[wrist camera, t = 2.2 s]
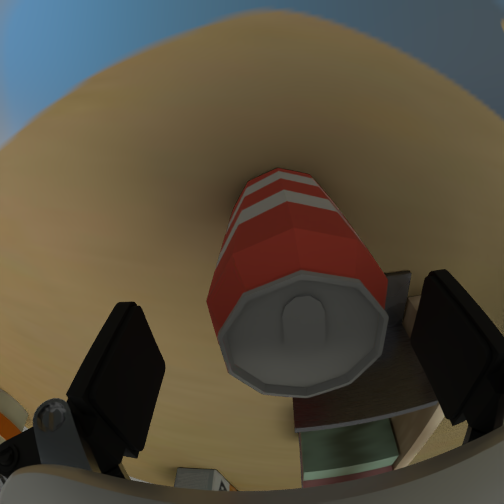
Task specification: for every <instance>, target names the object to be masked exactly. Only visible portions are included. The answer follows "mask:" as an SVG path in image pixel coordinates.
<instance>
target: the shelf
mask: <svg viewBox="0 0 504 504" xmlns="http://www.w3.org/2000/svg"><path fill="white" fill-rule="evenodd" d="M420 298H421V295H419V296H413V297H408V299H407V304H406V308H405V313H404V318H403V322H402V325H403V326H404V328H405V330H406V332H407V334H408V336H409V338H410V337H411V333H412V329H413V326H414V322H415V318H416V314H417V310H418V306H419V302H420ZM443 418H444V413H443V411H442V409H441V406H440V404H439V402H438V403H437V404H436V405H434V406H431V407H427V408H424V409H421V410H417V411H414V412H410V413H406V414H402V415H399V416H394V417H390V418H386V419H382V420H377V421H372V422H367V423H362V424H357V425H351V426H345V427H339V428H332V429H325V430H317V431H308V432H299V446H300V462H301V480H302V488H308V487H316V486H323V485H329V484H335V483H341V482H347V481H352V480H357V479H361V478H366V477H370V476H374V475H378V474H382V473H386V472H389V471H393V470H396V469H400V468H403V467H406V466H407V465H408V464H409V463H410V462H411V461H412V459H413V458H414V457H415V456H416V454H417V453H418V452H419V451H420V449H421V448H422V447H423V446H424V444H425V443H426V442H427V440H428V439H429V438H430V436H431V435H432V434H433V432H434V431H435V429H436V428H437V427H438V425H439V424H440V422H441V421H442V419H443Z"/></svg>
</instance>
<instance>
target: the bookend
mask: <svg viewBox="0 0 504 504" xmlns="http://www.w3.org/2000/svg"><path fill="white" fill-rule="evenodd" d="M384 275H385V276H386V278H387V279H388V286H387V294H386V302H385V309H384V310H385V311H386V312H387V314H388V316H389V319H388V324H387V330H386V336H385V341H384V346H383V351H382V355H381V356H380V357H379V358H378V359H377V360H376V361H375V362H374V363H373V364H372V365H371V366H370V367H369V368H367V369H366V370H365V371H364V372H363V373H362V374H361V375H360V376H359V377H358V378H357V379H356V380H355V381H353V382H352V383H351V384H349V385H346V386H344V387H341V388H338V389H335V390H332V391H329V392H326V393H323V394H319V395H316V396H313V397H310V398H297V397H293V410H294V425H295V433H297V432H308V431H317V430H325V429H332V428H339V427H345V426H351V425H357V424H362V423H367V422H372V421H377V420H382V419H386V418H390V417H394V416H399V415H402V414H406V413H410V412H414V411H417V410H421V409H424V408H427V407H431V406H434V405H436V404H437V403H438V400H437V398H436V395H435V393H434V391H433V389H432V387H431V385H430V382H429V380H428V378H427V376H426V374H425V372H424V370H423V368H422V366H421V364H420V362H419V360H418V358H417V356H416V354H415V352H414V350H413V348H412V346H411V342H410V338H409V336H408V334H407V332H406V330H405V328H404V326H403V325H402V319H403V315H404V310H405V305H406V300H407V295H408V290H409V285H410V279H411V272H410V271H404V272H396V273H388V274H384Z"/></svg>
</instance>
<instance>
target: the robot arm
mask: <svg viewBox="0 0 504 504" xmlns="http://www.w3.org/2000/svg"><path fill="white" fill-rule="evenodd" d="M410 342H411V346H412V348H413V350H414V352H415V354H416V356H417V358H418V360H419V362H420V364H421V366H422V368H423V370H424V372H425V374H426V376H427V378H428V380H429V382H430V385H431V387H432V389H433V391H434V393H435V395H436V398H437V400H438V402H439V404H440V406H441V409H442V411H443V413H444V416H445V417H446V418H447V419H450V421H451V424H452V426H454V425H456V424H459V423H461V422H463V421H465V420H467V422H468V428H467V432H466V435H465V438H464V441H463V444H462V446H460V447H457V448H455V449H453V450H450V451H448V452H445V453H443V454H440V455H438V456H435V457H433V458H430V459H427V460H424V461H421V462H419V463H416V464H413V465H410V466H406V467H403V468H400V469H396V470H393V471H389V472H386V473H382V474H378V475H374V476H370V477H366V478H361V479H357V480H352V481H347V482H341V483H335V484H329V485H323V486H316V487H308V488H298V489H287V490H272V491H213V490H198V489H187V488H178V487H170V486H163V485H156V484H150V483H144V482H138V481H133V480H131V479H130V477H129V476H128V474H127V472H126V470H125V468H124V466H123V464H122V463H121V462H122V458H123V456H126V457H132V458H138V454H139V451H142V450H143V449H144V446H145V442H146V438H147V434H148V430H149V427H150V423H151V419H152V415H153V412H154V408H155V405H156V401H157V397H158V394H159V390H160V387H161V383H162V380H163V376H164V373H165V362H164V359H163V357H162V355H161V353H160V351H159V348H158V346H157V344H156V342H155V339H154V337H153V335H152V332H151V330H150V327H149V325H148V323H147V320H146V318H145V315H144V313H143V310H142V308H141V307H140V306H137V304H136V303H135V302H119V303H117V304H116V305H115V307H114V309H113V310H112V312H111V314H110V315H109V317H108V319H107V320H106V322H105V324H104V325H103V327H102V329H101V331H100V332H99V334H98V336H97V338H96V339H95V341H94V343H93V345H92V346H91V348H90V350H89V352H88V354H87V355H86V357H85V359H84V361H83V363H82V365H81V366H80V368H79V370H78V372H77V374H76V376H75V378H74V380H73V382H72V384H71V386H70V388H69V390H68V392H67V394H66V395H67V397H68V400H67V402H65V401H64V400H62V399H59V398H53V399H50V400H47V401H45V402H44V403H42V404H41V405H40V406H39V407H38V408H37V410H36V412H35V414H34V417H33V427H31V428H30V429H28V430H26V431H24V432H22V433H20V434H18V435H16V436H14V437H12V438H10V439H8V440H6V441H4V442H3V443H1V444H0V504H504V337H503V335H502V334H501V333H500V331H499V330H498V329H497V327H496V326H495V325H494V324H493V322H492V321H491V320H490V319H489V317H488V316H487V315H486V314H485V312H484V311H483V310H482V309H481V308H480V306H479V305H478V304H477V303H476V302H475V301H474V299H473V298H472V297H471V296H470V295H469V294H468V293H467V291H466V290H465V289H464V288H463V287H462V286H461V285H460V284H459V282H458V281H457V280H456V279H455V278H454V277H453V276H452V275H451V274H450V273H449V272H448V271H447V270H446V269H442V270H436V271H431V272H430V273H429V274H428V276H427V277H426V278H425V280H424V284H423V289H422V293H421V298H420V302H419V306H418V310H417V314H416V318H415V322H414V326H413V329H412V333H411V337H410Z"/></svg>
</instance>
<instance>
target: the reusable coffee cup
mask: <svg viewBox="0 0 504 504" xmlns="http://www.w3.org/2000/svg"><path fill="white" fill-rule="evenodd" d="M27 417H28V413H27V412H26V410H25V409H24V408H23V407H22V406H21V405H20V404H19V403H18V402H17V401H16V400H15V399H14V398H13V397H12V396H10V395H9V394H8V393H6V392H5V391H3V390H2V389H0V444H1V443H3V442H4V441H6V440H8V439H10V438H12V437H14V436H16V435H18V434H20V433H22V431H23V428H24V425H25V423H26V420H27Z"/></svg>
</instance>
